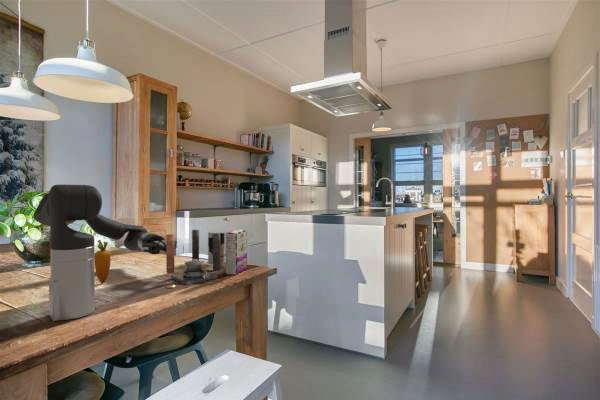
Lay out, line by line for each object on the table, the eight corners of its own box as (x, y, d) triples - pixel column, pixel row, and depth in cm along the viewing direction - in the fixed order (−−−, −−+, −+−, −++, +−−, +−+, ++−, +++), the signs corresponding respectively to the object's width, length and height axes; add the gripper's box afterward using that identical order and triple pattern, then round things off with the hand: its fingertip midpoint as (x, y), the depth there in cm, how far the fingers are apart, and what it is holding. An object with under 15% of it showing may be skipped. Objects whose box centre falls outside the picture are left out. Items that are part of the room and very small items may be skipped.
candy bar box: (236, 268, 135) (236, 229, 135) (247, 268, 134) (247, 229, 134) (224, 274, 124) (224, 232, 124) (236, 275, 123) (237, 232, 123)
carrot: (113, 283, 110) (113, 240, 110) (96, 286, 107) (96, 241, 106) (108, 280, 114) (108, 238, 113) (92, 283, 110) (92, 240, 110)
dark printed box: (213, 269, 131) (213, 233, 131) (205, 267, 136) (205, 231, 136) (227, 267, 136) (227, 232, 136) (219, 264, 141) (219, 230, 140)
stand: (168, 288, 105) (168, 279, 105) (153, 281, 114) (153, 272, 113) (218, 278, 118) (218, 270, 118) (201, 272, 127) (201, 264, 127)
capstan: (197, 278, 105) (197, 237, 105) (159, 273, 112) (158, 234, 112) (230, 267, 121) (230, 231, 121) (195, 263, 128) (195, 229, 128)
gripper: (168, 250, 130) (188, 257, 118) (133, 254, 120) (152, 263, 108) (168, 232, 130) (189, 237, 118) (133, 235, 120) (152, 241, 108)
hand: (171, 249), depth 113 cm, fingers closed
